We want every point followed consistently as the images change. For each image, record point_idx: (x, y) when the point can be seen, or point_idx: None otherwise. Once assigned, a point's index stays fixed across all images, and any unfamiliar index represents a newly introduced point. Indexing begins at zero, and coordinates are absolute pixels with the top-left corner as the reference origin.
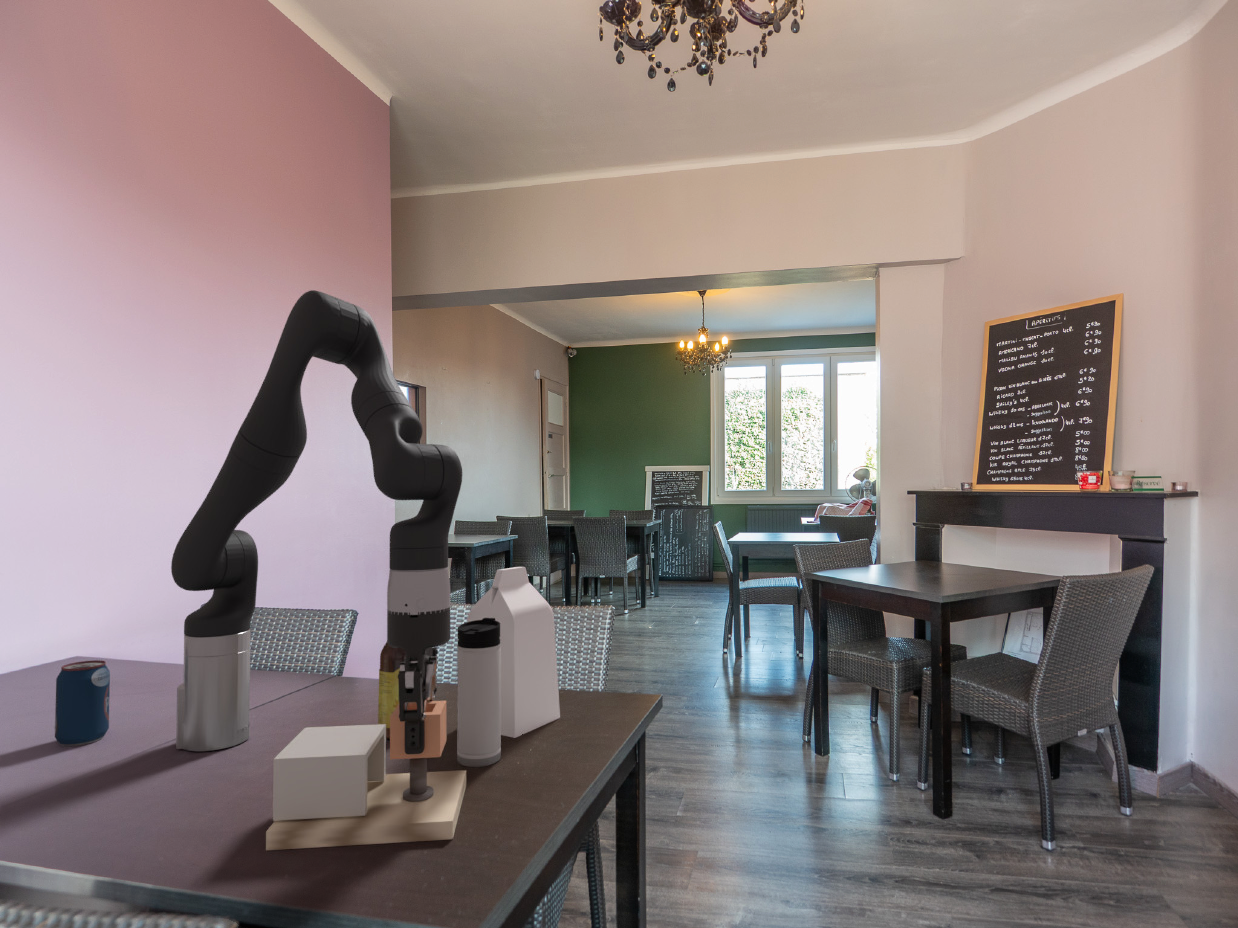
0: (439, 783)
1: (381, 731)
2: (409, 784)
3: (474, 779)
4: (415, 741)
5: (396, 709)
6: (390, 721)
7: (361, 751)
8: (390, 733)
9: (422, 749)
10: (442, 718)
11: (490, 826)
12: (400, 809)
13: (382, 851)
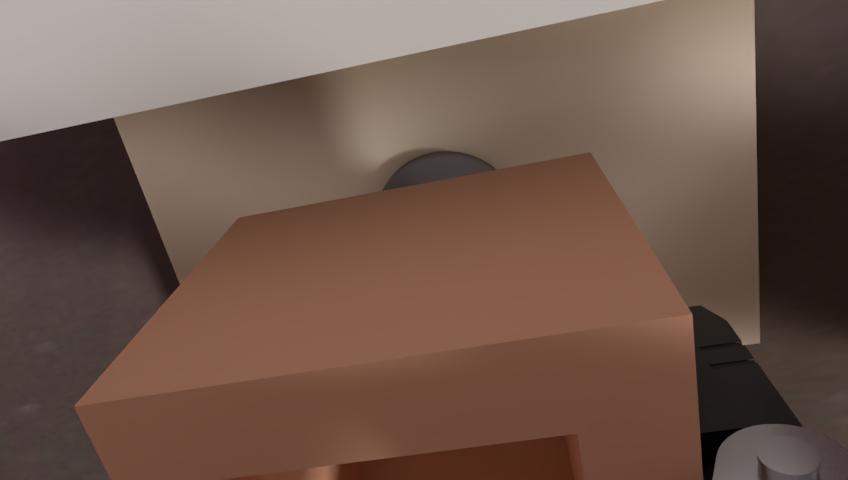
0: None
1: (584, 16)
2: (583, 128)
3: (802, 321)
4: None
5: (355, 382)
6: (107, 374)
7: (17, 81)
8: (159, 310)
9: None
10: None
11: None
12: (294, 193)
13: (115, 177)
